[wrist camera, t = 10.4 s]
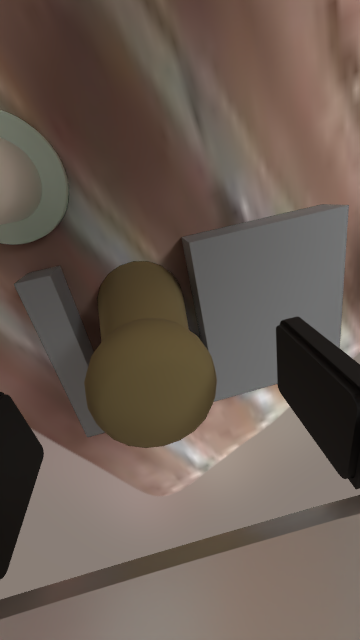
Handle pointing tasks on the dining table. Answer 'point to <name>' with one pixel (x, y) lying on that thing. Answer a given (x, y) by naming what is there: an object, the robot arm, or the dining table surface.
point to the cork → (147, 360)
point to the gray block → (220, 299)
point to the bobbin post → (29, 183)
